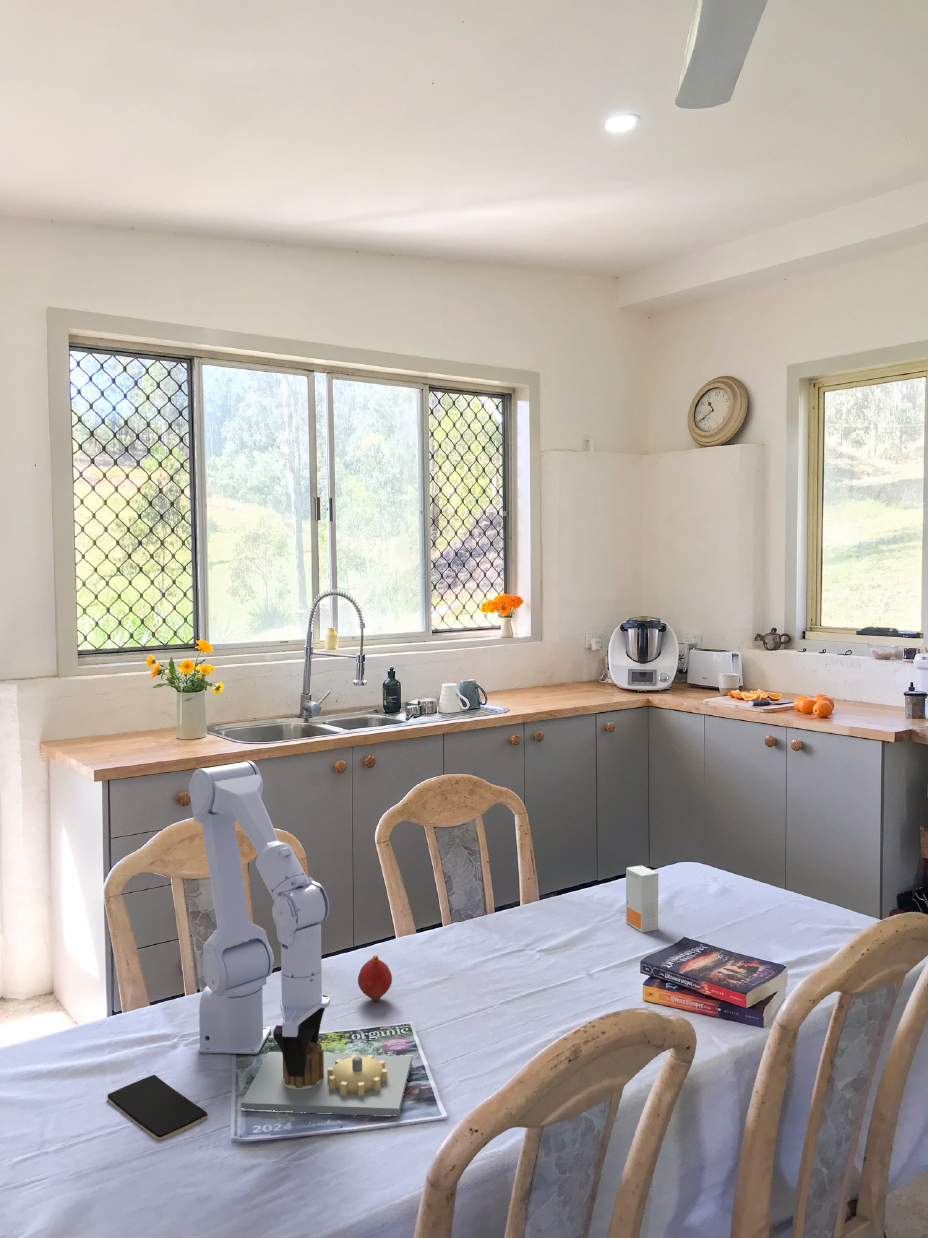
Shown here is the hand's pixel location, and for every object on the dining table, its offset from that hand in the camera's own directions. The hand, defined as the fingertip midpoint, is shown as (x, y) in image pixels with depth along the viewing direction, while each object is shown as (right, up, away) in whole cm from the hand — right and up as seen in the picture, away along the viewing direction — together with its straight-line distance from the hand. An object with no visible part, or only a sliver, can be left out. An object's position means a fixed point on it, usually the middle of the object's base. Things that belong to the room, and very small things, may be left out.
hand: (302, 1061), depth 140 cm
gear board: (+4, -4, 0) cm, 5 cm away
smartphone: (-19, -5, -5) cm, 21 cm away
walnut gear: (0, -2, 0) cm, 2 cm away
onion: (+8, -2, +28) cm, 29 cm away
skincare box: (+60, 0, +61) cm, 86 cm away
